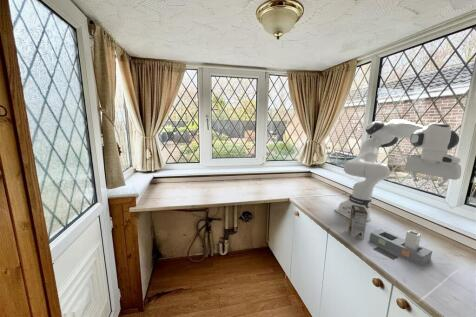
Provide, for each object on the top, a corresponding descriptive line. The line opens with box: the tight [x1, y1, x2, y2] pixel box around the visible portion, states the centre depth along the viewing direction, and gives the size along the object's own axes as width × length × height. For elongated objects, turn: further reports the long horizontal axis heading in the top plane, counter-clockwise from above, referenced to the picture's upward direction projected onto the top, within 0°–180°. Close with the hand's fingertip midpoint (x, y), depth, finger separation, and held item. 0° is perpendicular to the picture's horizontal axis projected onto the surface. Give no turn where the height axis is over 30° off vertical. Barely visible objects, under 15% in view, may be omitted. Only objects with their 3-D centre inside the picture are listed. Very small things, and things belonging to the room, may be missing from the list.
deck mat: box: [372, 246, 399, 261], centre depth 97 cm, size 9×5×1 cm, turn 28°
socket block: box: [369, 228, 433, 267], centre depth 100 cm, size 22×10×5 cm, turn 28°
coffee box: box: [348, 205, 368, 240], centre depth 112 cm, size 9×6×16 cm
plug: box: [404, 229, 422, 252], centre depth 95 cm, size 4×4×11 cm
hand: (427, 183), depth 99 cm, fingers open, 8 cm apart
